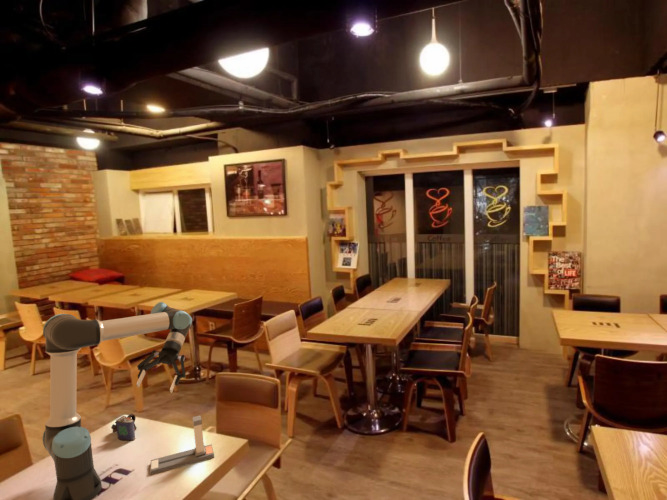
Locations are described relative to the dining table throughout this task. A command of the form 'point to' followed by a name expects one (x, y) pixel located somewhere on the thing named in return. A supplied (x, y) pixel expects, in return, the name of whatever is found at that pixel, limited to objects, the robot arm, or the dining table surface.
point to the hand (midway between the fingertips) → (154, 388)
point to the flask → (125, 429)
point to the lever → (198, 436)
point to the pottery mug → (126, 419)
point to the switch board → (179, 459)
